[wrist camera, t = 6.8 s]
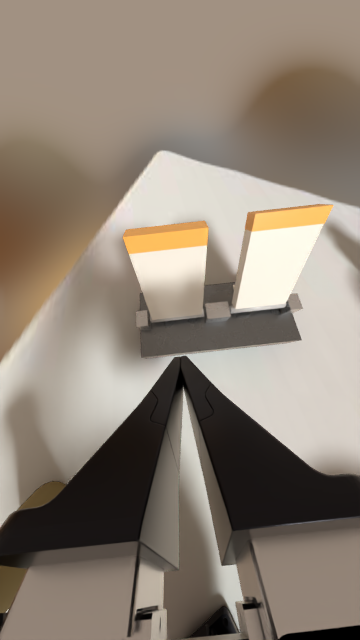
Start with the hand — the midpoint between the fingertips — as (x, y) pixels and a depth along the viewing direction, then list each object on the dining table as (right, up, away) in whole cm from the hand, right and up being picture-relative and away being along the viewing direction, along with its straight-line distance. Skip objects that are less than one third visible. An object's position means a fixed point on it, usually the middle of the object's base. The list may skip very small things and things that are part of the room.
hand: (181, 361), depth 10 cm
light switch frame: (+5, +3, +12) cm, 13 cm away
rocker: (0, +3, +8) cm, 9 cm away
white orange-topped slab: (+9, +4, +8) cm, 13 cm away
